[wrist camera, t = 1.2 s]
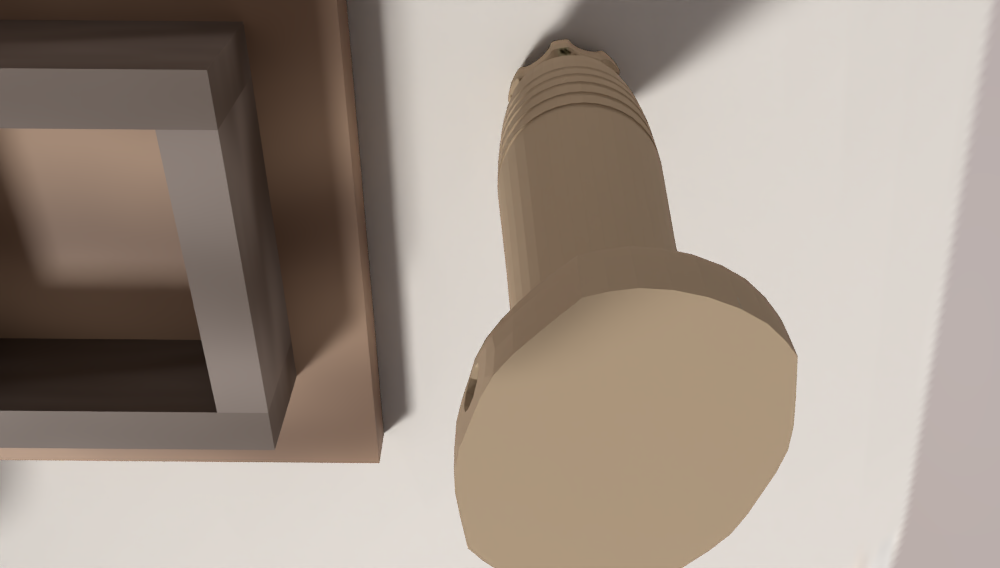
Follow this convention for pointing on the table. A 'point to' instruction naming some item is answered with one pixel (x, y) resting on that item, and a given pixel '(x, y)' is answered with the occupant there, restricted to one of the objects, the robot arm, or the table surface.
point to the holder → (183, 234)
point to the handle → (611, 351)
